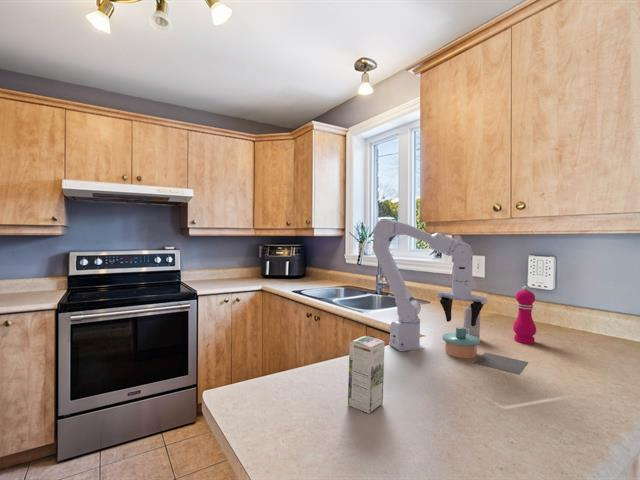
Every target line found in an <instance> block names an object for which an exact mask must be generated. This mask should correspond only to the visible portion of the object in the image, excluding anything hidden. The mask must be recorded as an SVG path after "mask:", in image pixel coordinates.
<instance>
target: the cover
mask: <svg viewBox="0 0 640 480" xmlns="http://www.w3.org/2000/svg"><path fill="white" fill-rule="evenodd" d="M442 340H443V341H444V342H445V341H446V342H448V343H451V344H455V345H461V346H476V345H477V346H479V345H480V344H481V339H479V338H477V337H475V336H472V335H468V334H466V328H464V326H463V327H461V326H459V327H458V326H457V327H455V332H447V333H443V334H442Z"/></svg>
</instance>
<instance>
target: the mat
mask: <svg viewBox="0 0 640 480" xmlns="http://www.w3.org/2000/svg"><path fill="white" fill-rule="evenodd" d="M472 363H473V364H475V365H480V366H484V367H488V368H492V369H496V370H498V371H499V370H500V371H503V372H507V373H511V374H515V375H520V374H521V373H522V371H523V370H524V369H525V368H526V367H527V365H528V364H529V361H526V360H521V359H517V358H511V357H507V356H503V355H499V354H498V355H497V354H496V353H495V354H494V353H491V352H490V353H489V352H485V351H484V353H482V355H480V356H479V357H478V358H477V359H476V360H474V361H473V362H472Z"/></svg>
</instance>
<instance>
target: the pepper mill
mask: <svg viewBox="0 0 640 480" xmlns="http://www.w3.org/2000/svg"><path fill="white" fill-rule="evenodd" d="M515 299H516V300H515V301H517V304H516V305H517V306H516V308H517V309H518V314H517V316H516V319H515V321H514V323H513V325H512V326H513V327H512V329H513V332H514V333H515V334H514V337H513V339H514V341H515V342H517V343H519V344H525V345H533V344H535V339H536V338H535V337H534V335H536V334H537V326H536V324H535V322H534V320H533V315H532V314H533V313H532V311H533V309H534V303H535V301H536V296H535V294H534V292H532V291H531V290H529V286H527V285H524V286H523V287H522V290H519V291H518V292H516V293H515Z"/></svg>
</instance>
